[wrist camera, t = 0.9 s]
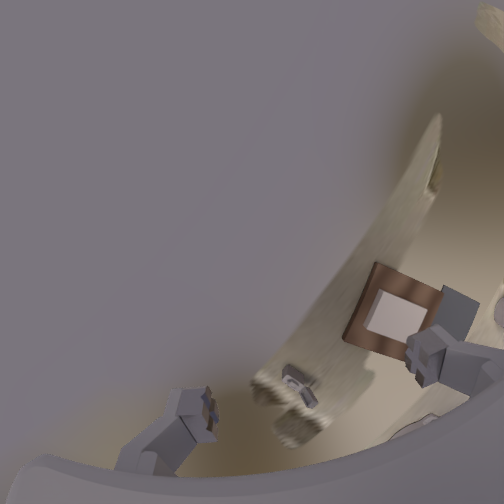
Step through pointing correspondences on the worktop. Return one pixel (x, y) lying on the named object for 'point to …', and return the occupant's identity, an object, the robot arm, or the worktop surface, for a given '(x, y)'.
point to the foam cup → (499, 312)
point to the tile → (394, 316)
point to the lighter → (298, 385)
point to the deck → (396, 286)
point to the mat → (456, 313)
